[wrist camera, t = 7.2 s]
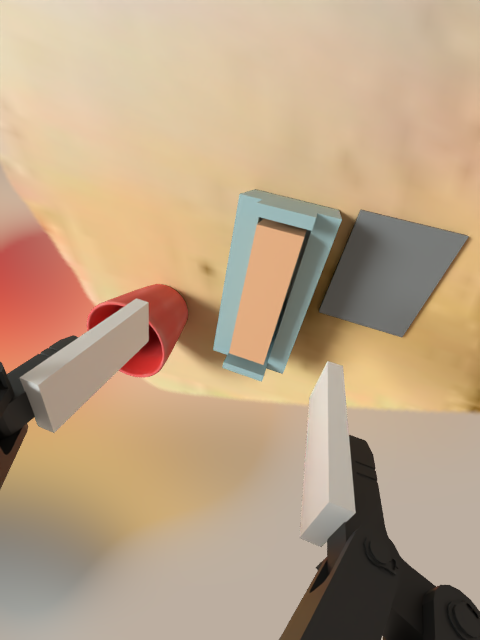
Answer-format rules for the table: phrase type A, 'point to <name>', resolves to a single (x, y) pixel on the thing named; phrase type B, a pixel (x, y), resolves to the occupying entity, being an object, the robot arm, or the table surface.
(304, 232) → the bar
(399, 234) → the mat
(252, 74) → the table surface
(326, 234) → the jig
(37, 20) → the table surface
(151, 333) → the flower pot
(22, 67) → the table surface
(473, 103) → the table surface
